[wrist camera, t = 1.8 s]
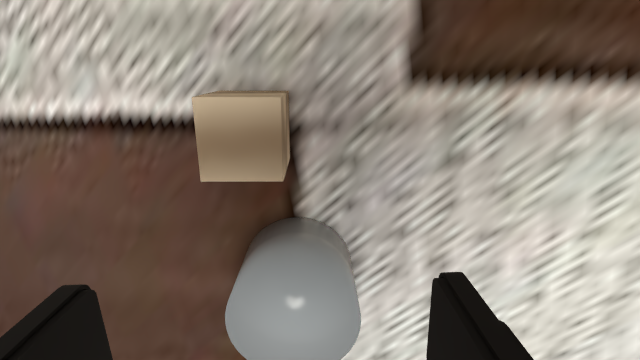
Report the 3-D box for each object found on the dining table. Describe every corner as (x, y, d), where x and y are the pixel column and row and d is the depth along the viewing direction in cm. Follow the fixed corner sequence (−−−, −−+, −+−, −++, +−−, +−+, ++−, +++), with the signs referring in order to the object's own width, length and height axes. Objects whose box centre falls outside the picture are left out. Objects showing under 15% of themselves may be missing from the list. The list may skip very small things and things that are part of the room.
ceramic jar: (242, 217, 28) (219, 262, 22) (352, 217, 29) (363, 262, 22) (248, 309, 31) (230, 375, 25) (349, 309, 31) (358, 374, 25)
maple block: (219, 90, 25) (191, 97, 20) (288, 90, 25) (280, 97, 20) (225, 157, 27) (200, 181, 21) (290, 157, 27) (283, 181, 21)
